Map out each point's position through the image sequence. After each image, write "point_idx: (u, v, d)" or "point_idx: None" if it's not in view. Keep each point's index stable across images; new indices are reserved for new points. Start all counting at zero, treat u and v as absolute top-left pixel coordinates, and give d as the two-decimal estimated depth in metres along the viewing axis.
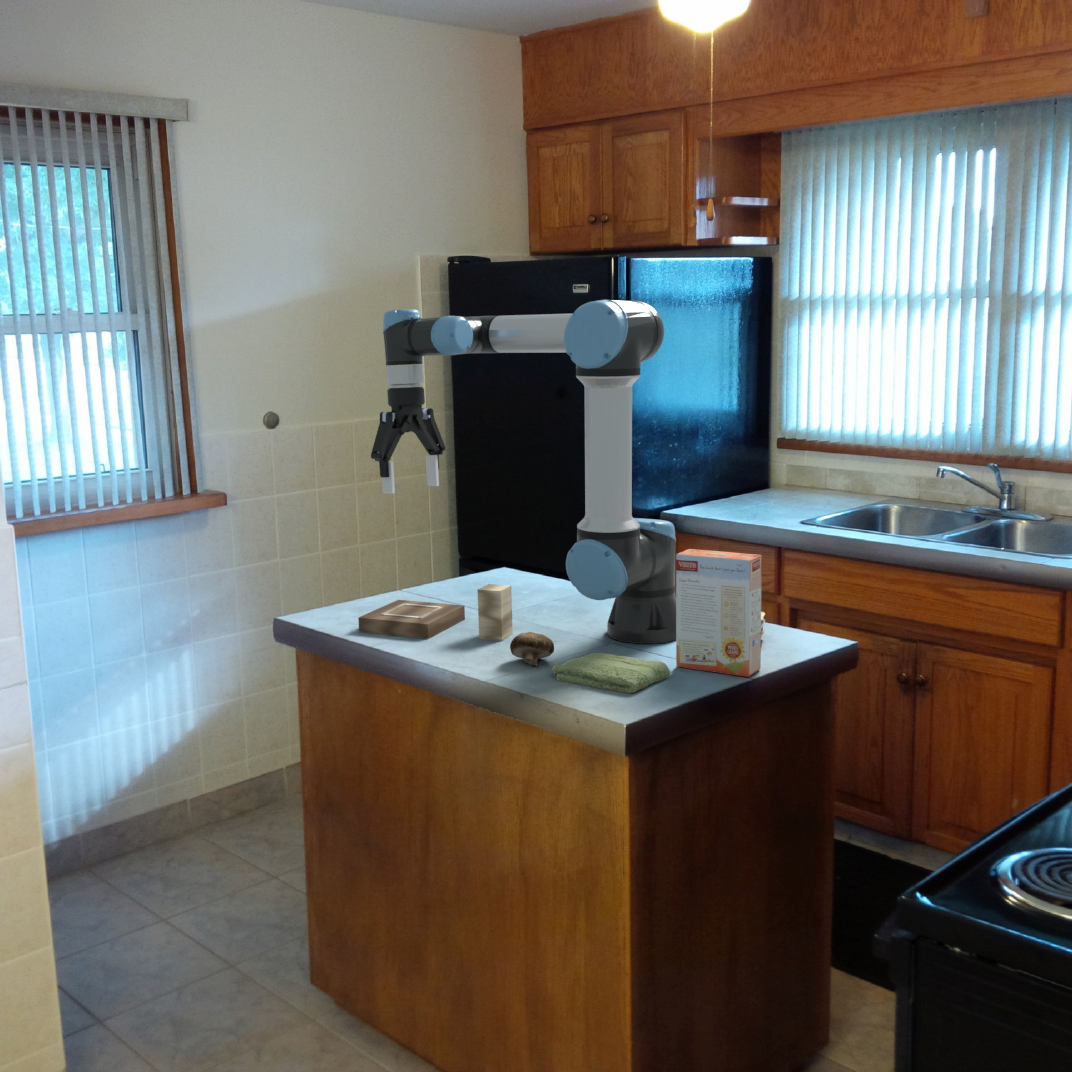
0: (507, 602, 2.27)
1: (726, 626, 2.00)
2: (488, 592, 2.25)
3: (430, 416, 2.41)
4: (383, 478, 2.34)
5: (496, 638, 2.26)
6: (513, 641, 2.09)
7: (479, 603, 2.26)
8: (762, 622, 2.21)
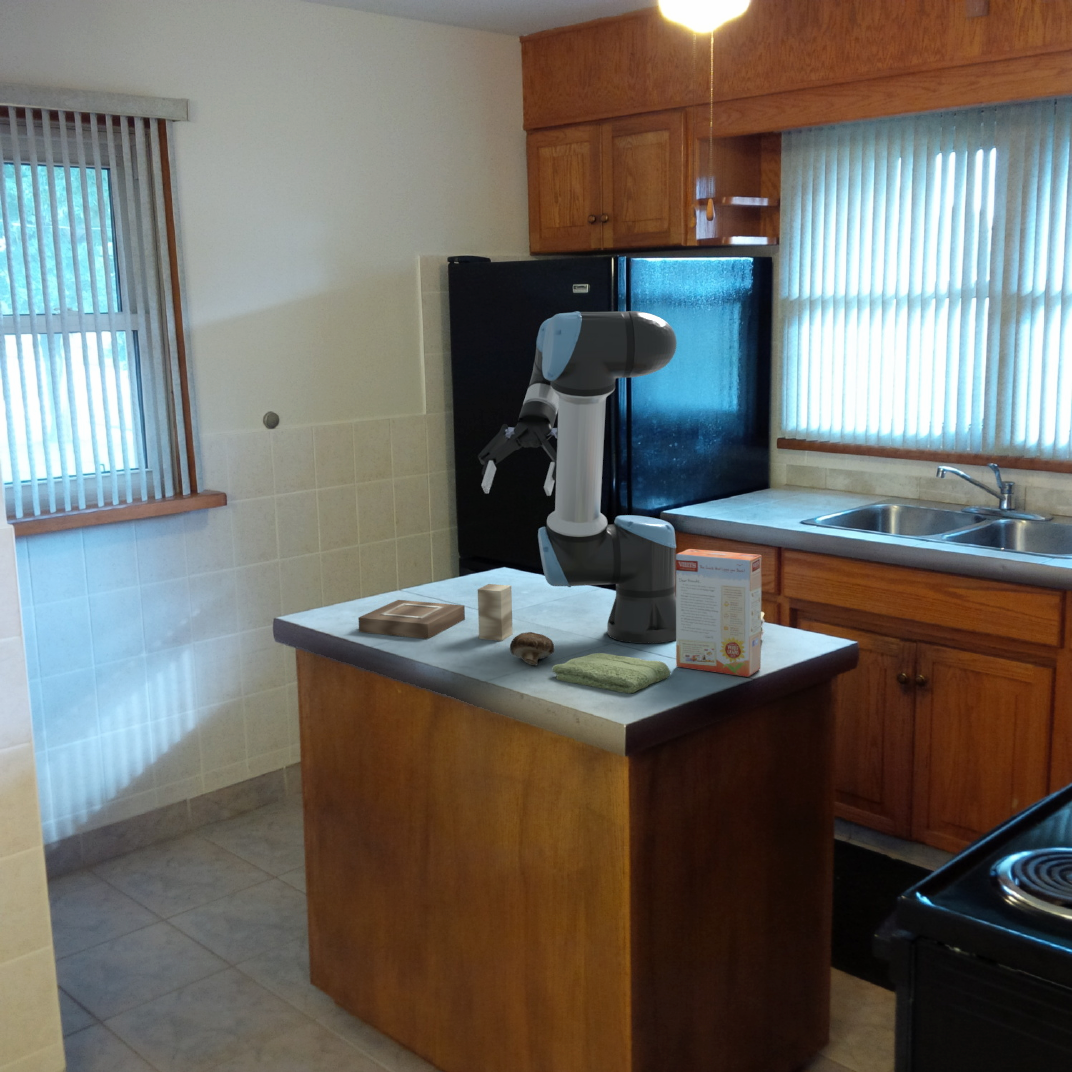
0: (507, 602, 2.27)
1: (726, 626, 2.00)
2: (488, 592, 2.25)
3: (557, 431, 2.40)
4: None
5: (496, 638, 2.26)
6: (513, 641, 2.09)
7: (479, 603, 2.26)
8: (761, 622, 2.21)
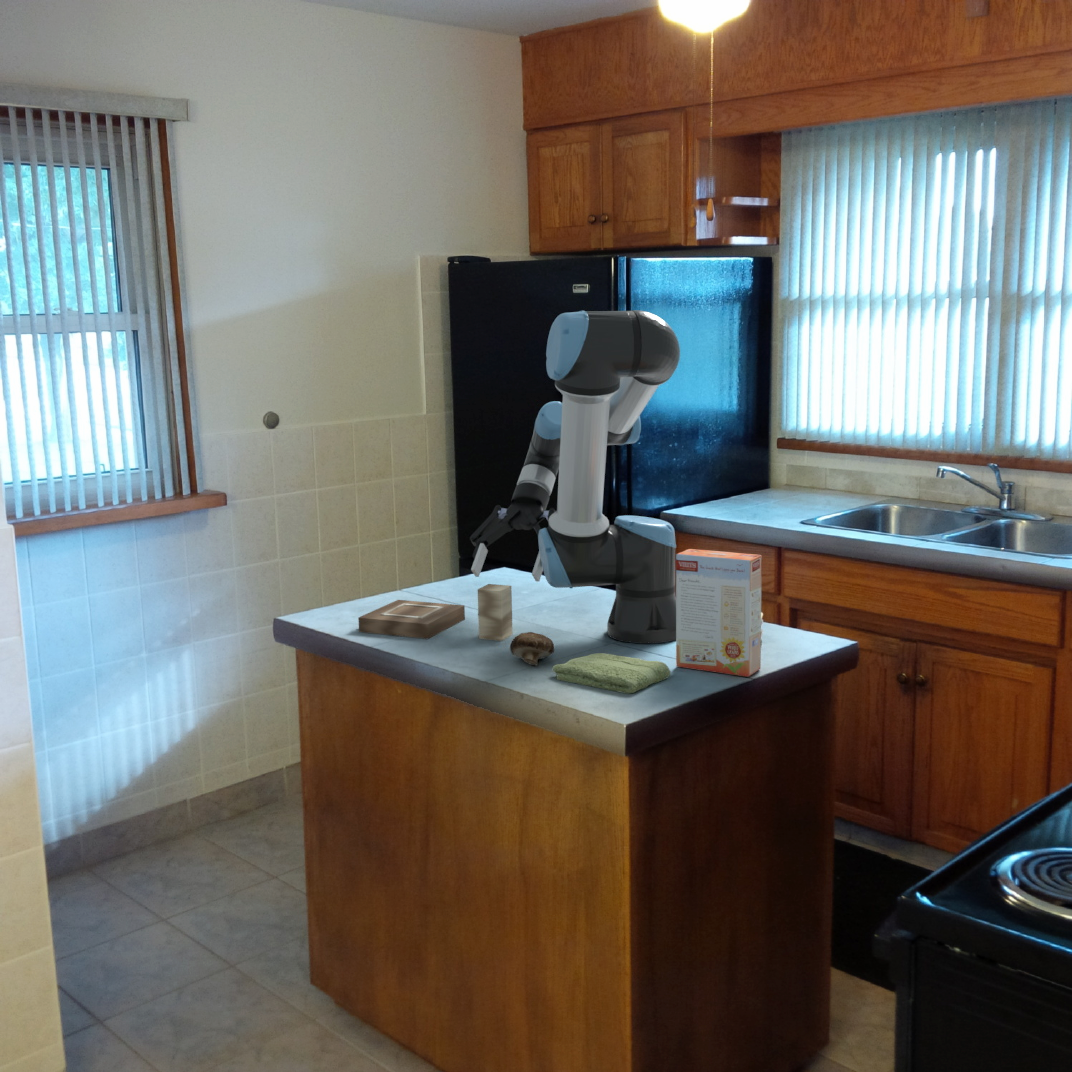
0: (507, 602, 2.27)
1: (726, 626, 2.00)
2: (488, 592, 2.25)
3: (548, 514, 2.38)
4: None
5: (496, 638, 2.26)
6: (513, 641, 2.09)
7: (479, 603, 2.26)
8: None
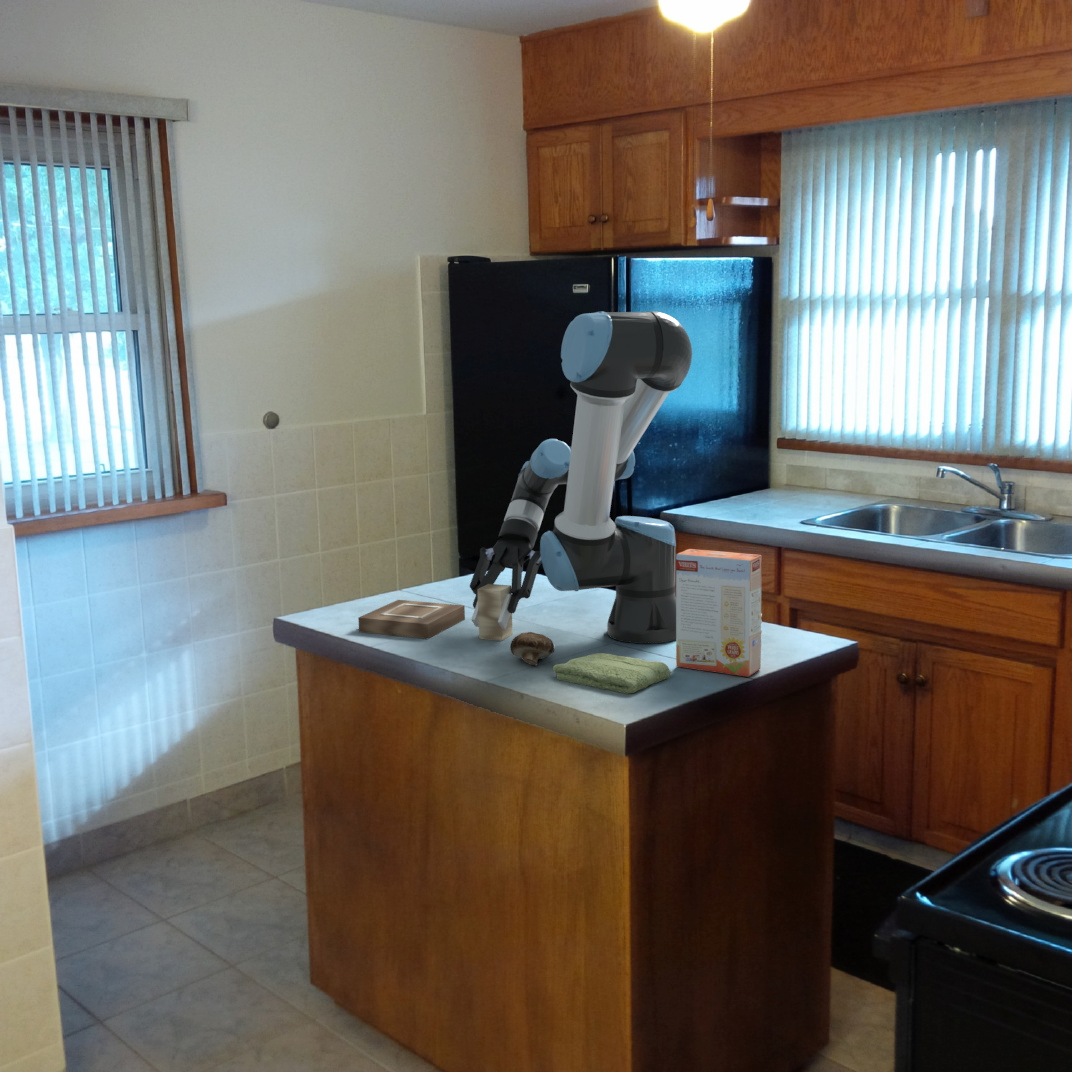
0: None
1: (726, 626, 2.00)
2: (488, 592, 2.25)
3: (532, 556, 2.31)
4: None
5: (496, 638, 2.26)
6: (513, 641, 2.09)
7: (479, 603, 2.26)
8: None
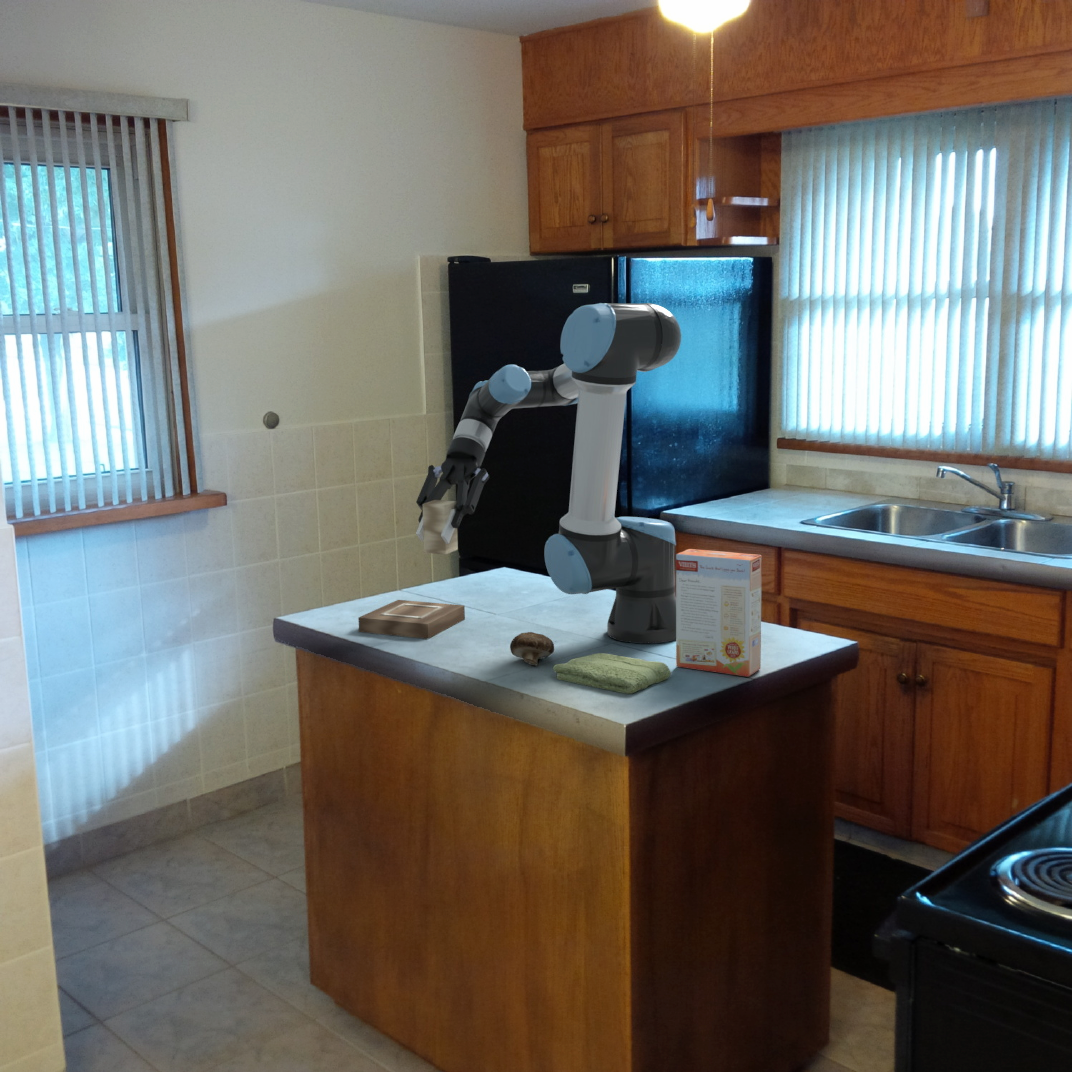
0: None
1: (726, 626, 2.00)
2: (433, 506, 2.30)
3: (477, 473, 2.35)
4: None
5: (440, 552, 2.32)
6: (513, 641, 2.09)
7: (424, 517, 2.32)
8: None
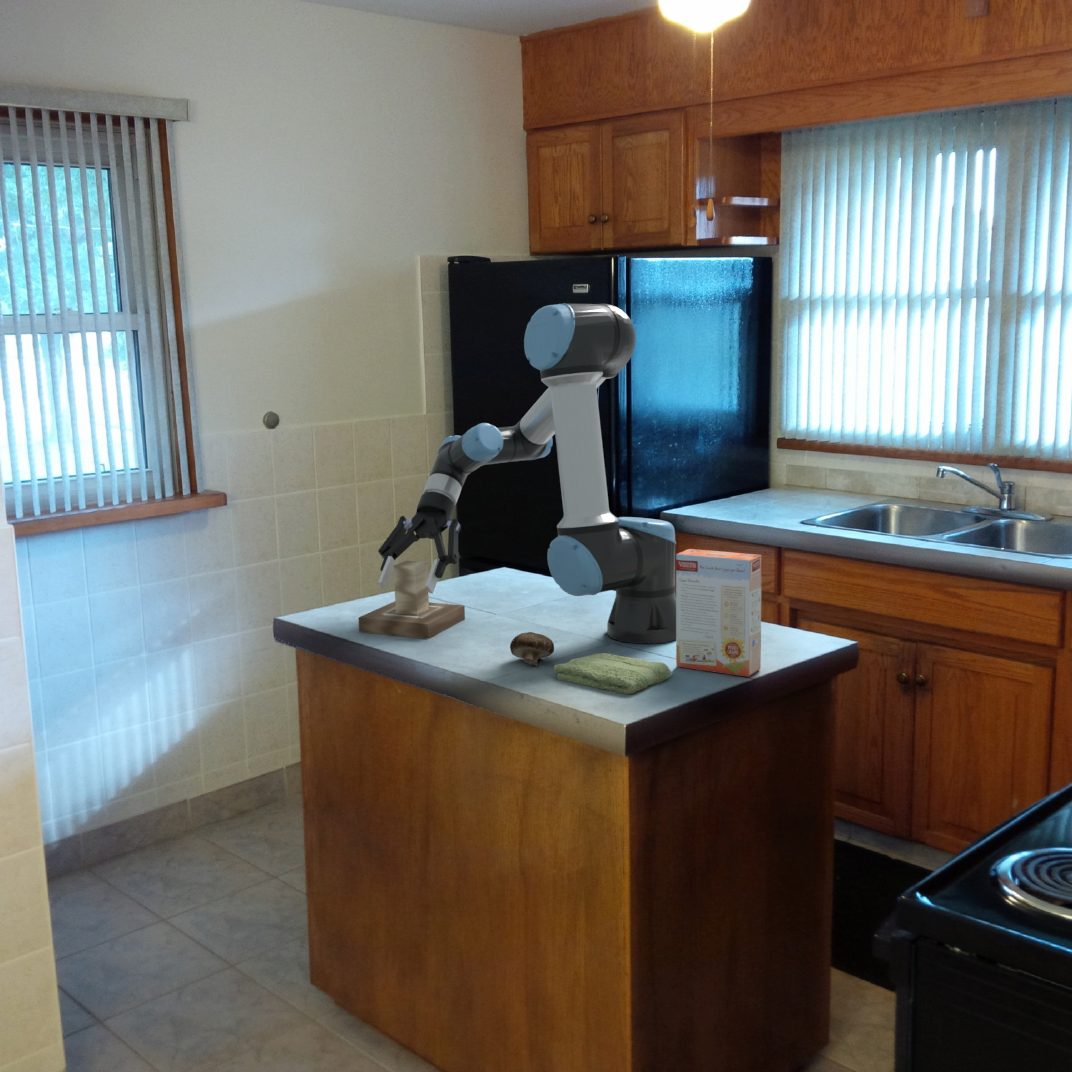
0: (422, 578, 2.36)
1: (726, 626, 2.00)
2: (404, 568, 2.34)
3: (450, 524, 2.40)
4: None
5: (411, 612, 2.35)
6: (513, 641, 2.09)
7: (395, 579, 2.36)
8: None
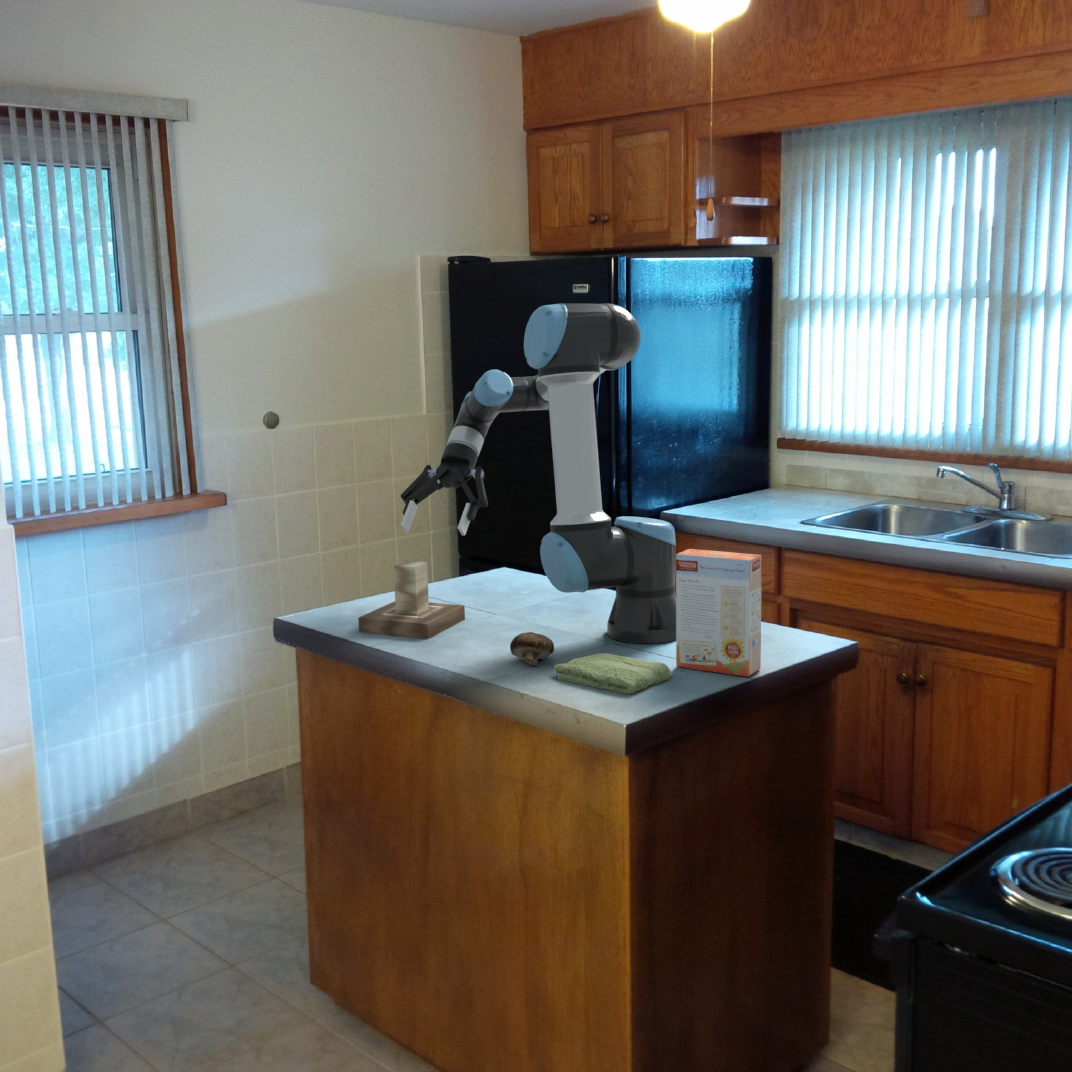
0: (422, 578, 2.36)
1: (726, 626, 2.00)
2: (404, 568, 2.34)
3: (475, 472, 2.49)
4: None
5: (411, 612, 2.35)
6: (513, 641, 2.09)
7: (395, 579, 2.36)
8: None
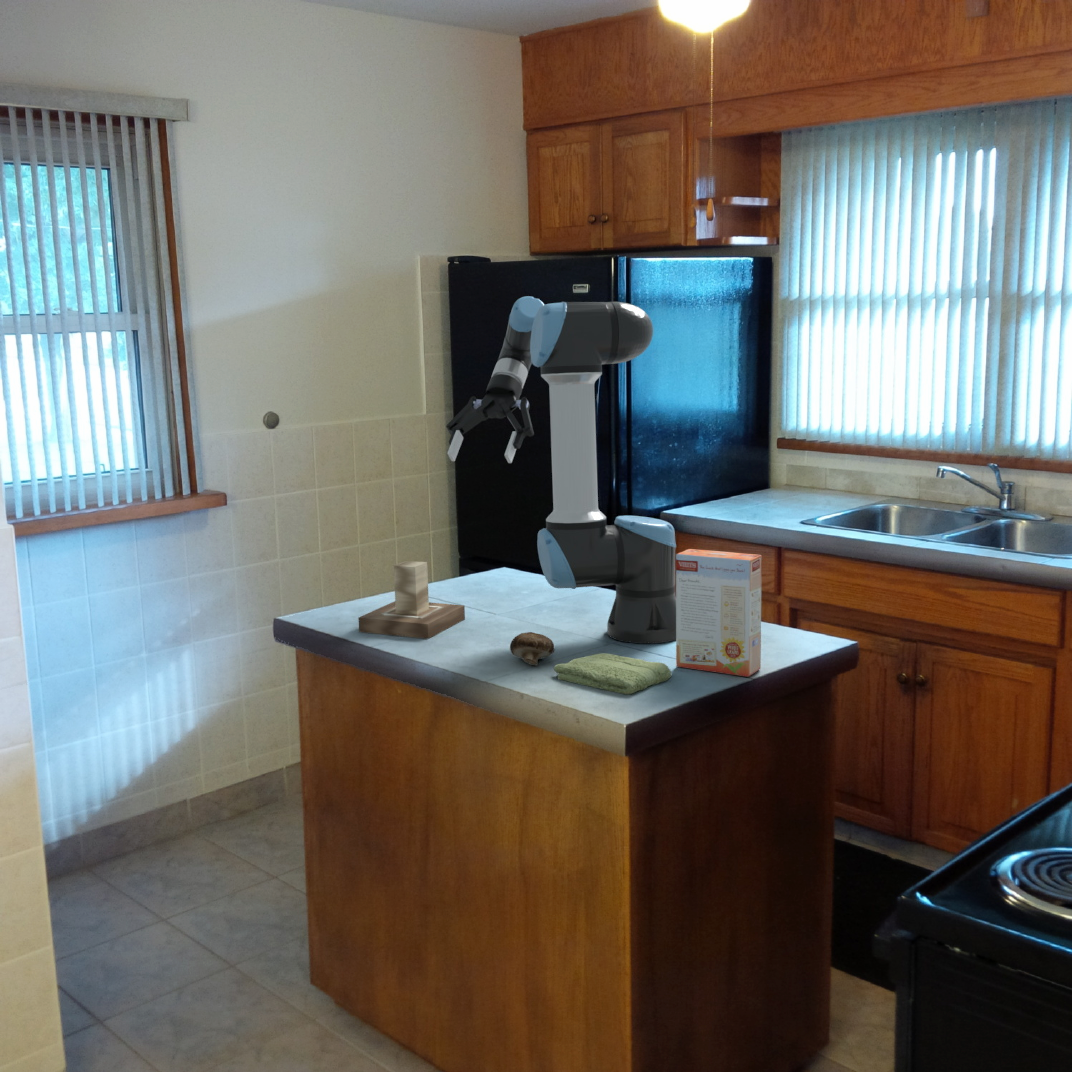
0: (422, 578, 2.36)
1: (726, 626, 2.00)
2: (404, 568, 2.34)
3: (521, 402, 2.52)
4: None
5: (411, 612, 2.35)
6: (513, 641, 2.09)
7: (395, 579, 2.36)
8: None
